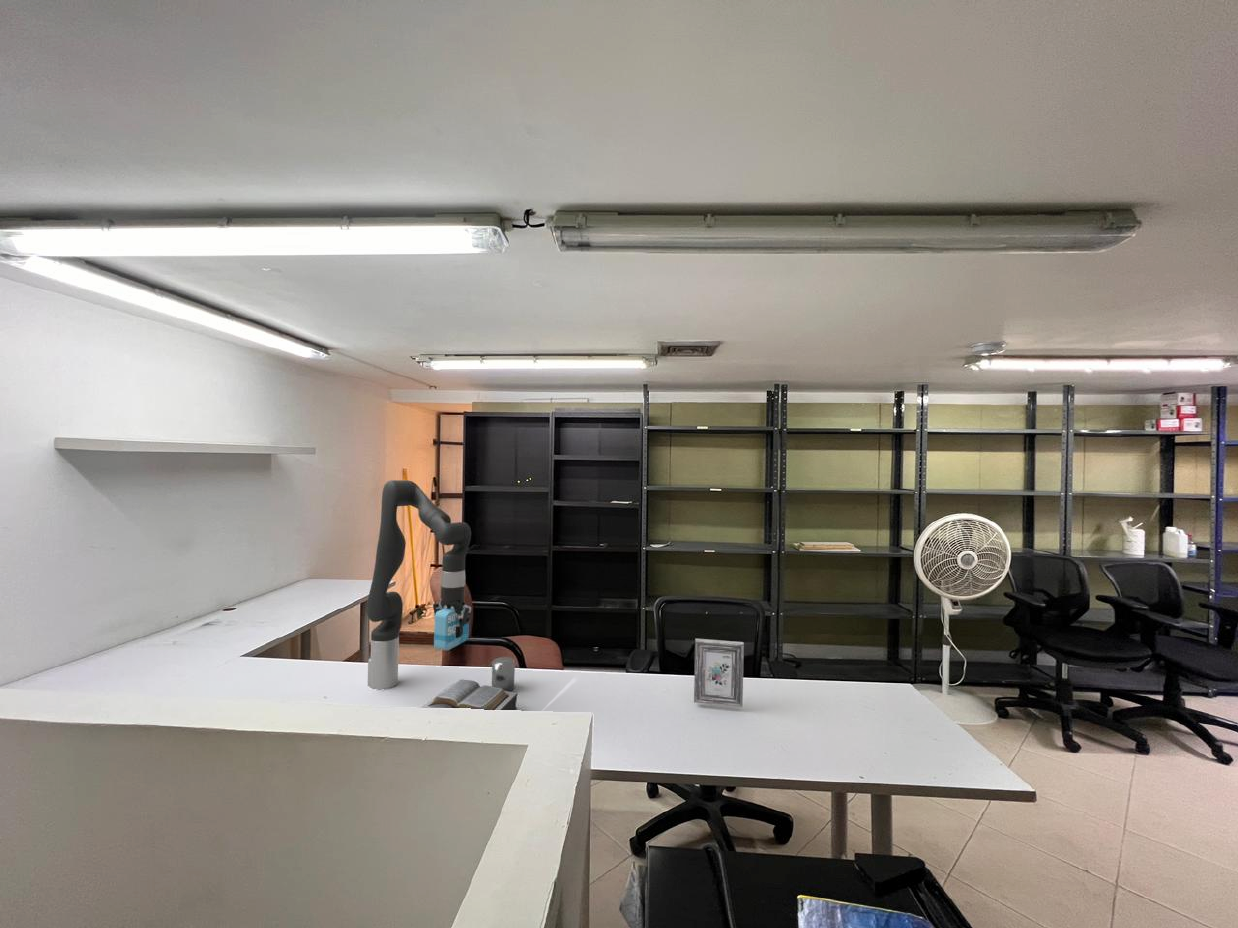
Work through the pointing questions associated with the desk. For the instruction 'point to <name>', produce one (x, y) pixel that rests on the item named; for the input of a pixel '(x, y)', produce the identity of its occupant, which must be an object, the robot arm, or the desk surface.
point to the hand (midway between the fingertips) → (451, 635)
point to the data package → (448, 630)
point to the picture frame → (718, 672)
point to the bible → (473, 697)
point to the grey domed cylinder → (503, 673)
